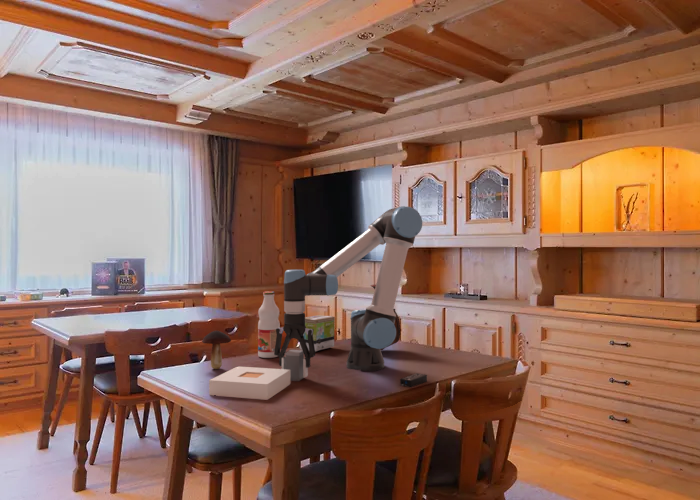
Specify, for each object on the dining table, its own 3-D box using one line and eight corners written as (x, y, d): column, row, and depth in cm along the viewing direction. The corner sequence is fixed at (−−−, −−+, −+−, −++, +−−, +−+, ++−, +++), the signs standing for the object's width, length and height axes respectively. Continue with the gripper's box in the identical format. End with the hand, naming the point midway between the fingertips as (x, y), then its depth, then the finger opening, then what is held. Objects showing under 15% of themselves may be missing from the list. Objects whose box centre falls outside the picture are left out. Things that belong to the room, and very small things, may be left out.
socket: (290, 384, 185) (290, 369, 185) (267, 400, 165) (267, 384, 165) (237, 380, 190) (237, 366, 190) (209, 395, 170) (209, 380, 170)
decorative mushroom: (205, 366, 212) (205, 328, 212) (233, 365, 213) (233, 328, 213) (199, 372, 202) (198, 333, 201) (228, 372, 202) (228, 332, 202)
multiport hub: (427, 381, 190) (427, 374, 190) (410, 387, 181) (410, 380, 181) (416, 379, 193) (416, 372, 193) (399, 385, 184) (399, 378, 184)
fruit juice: (281, 357, 229) (281, 292, 228) (259, 358, 226) (258, 293, 226) (278, 353, 238) (278, 290, 237) (257, 354, 235) (257, 291, 235)
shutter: (264, 377, 180) (264, 374, 180) (256, 382, 174) (256, 379, 174) (246, 376, 181) (246, 373, 181) (238, 380, 175) (238, 377, 175)
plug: (304, 377, 194) (303, 350, 194) (299, 381, 189) (299, 353, 188) (290, 376, 195) (290, 349, 195) (285, 380, 190) (285, 352, 190)
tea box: (316, 352, 240) (316, 319, 240) (299, 349, 246) (299, 317, 246) (335, 346, 253) (335, 315, 253) (317, 344, 258) (317, 314, 258)
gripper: (324, 312, 193) (324, 375, 193) (272, 310, 198) (272, 371, 198) (318, 314, 185) (318, 380, 186) (264, 312, 190) (264, 376, 191)
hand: (294, 375), depth 192 cm, fingers open, 8 cm apart
